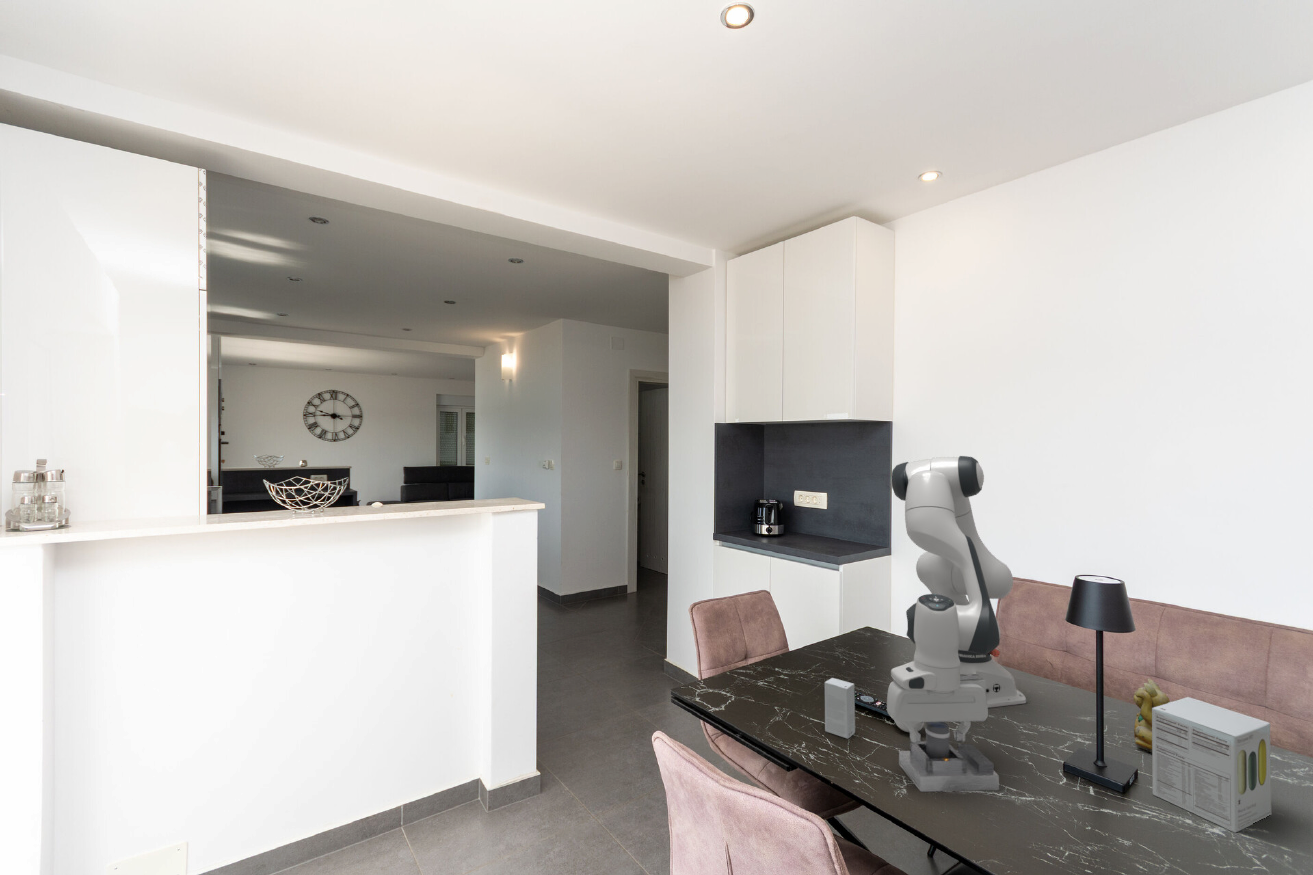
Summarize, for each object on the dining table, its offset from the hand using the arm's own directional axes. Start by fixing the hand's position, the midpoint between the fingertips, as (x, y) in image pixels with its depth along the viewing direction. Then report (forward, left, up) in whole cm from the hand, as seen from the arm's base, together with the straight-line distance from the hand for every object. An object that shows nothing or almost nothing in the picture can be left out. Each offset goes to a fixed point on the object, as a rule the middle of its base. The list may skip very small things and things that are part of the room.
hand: (937, 740), depth 125 cm
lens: (0, 0, -5) cm, 5 cm away
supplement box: (-48, +11, -8) cm, 50 cm away
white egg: (-4, -21, -8) cm, 23 cm away
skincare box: (+14, -20, -8) cm, 26 cm away
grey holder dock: (-2, 0, -8) cm, 8 cm away
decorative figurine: (-56, -10, -8) cm, 57 cm away
